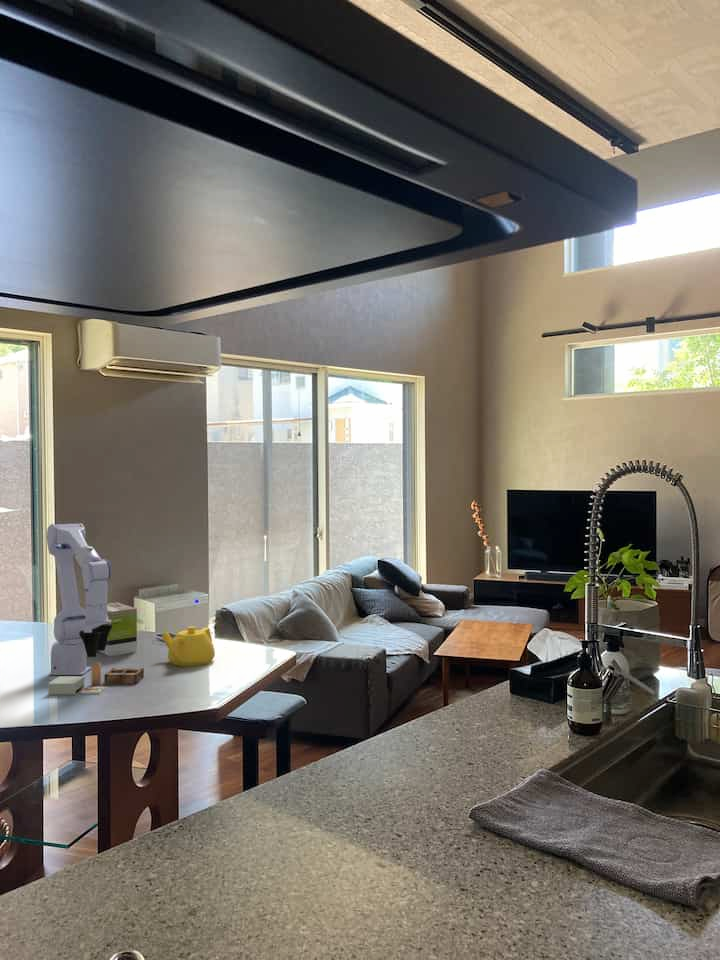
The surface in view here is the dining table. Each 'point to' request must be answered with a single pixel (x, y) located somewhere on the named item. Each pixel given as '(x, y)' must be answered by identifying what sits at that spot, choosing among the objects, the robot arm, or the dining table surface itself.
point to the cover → (66, 685)
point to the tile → (93, 690)
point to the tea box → (121, 630)
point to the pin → (96, 674)
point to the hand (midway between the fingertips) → (96, 653)
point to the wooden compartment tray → (124, 676)
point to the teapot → (190, 647)
